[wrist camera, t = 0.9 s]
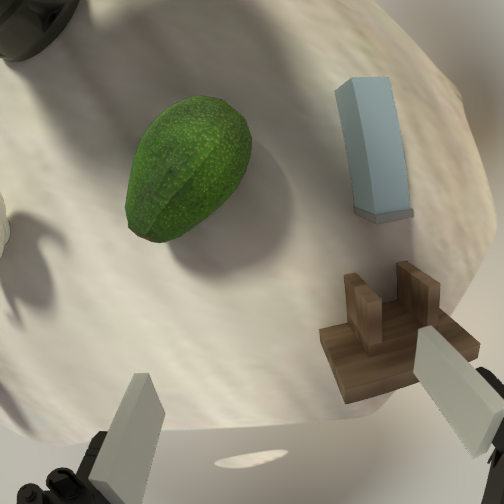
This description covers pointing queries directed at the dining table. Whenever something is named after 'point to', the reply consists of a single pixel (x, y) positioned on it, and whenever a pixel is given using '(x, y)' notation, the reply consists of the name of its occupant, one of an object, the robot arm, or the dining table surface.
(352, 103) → the block
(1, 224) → the teapot
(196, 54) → the dining table surface
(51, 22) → the robot arm
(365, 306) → the wooden card holder
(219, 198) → the fruit
